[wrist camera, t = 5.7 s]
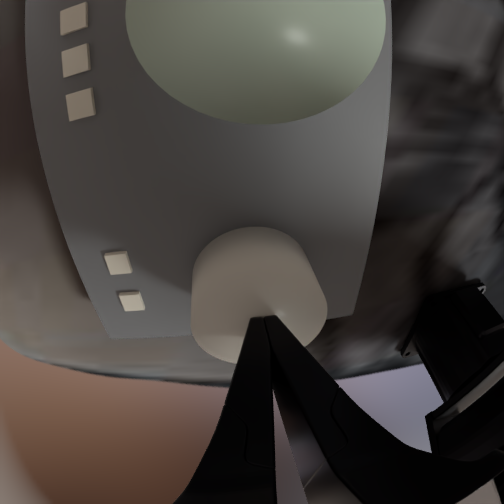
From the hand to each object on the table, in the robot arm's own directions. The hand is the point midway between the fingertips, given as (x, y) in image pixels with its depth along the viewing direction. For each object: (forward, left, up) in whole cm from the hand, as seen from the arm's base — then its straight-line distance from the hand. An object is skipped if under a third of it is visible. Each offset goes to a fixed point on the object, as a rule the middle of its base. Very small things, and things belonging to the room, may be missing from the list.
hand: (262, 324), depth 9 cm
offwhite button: (0, 0, -4) cm, 4 cm away
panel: (+9, +1, -5) cm, 10 cm away
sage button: (+9, 0, -3) cm, 9 cm away
